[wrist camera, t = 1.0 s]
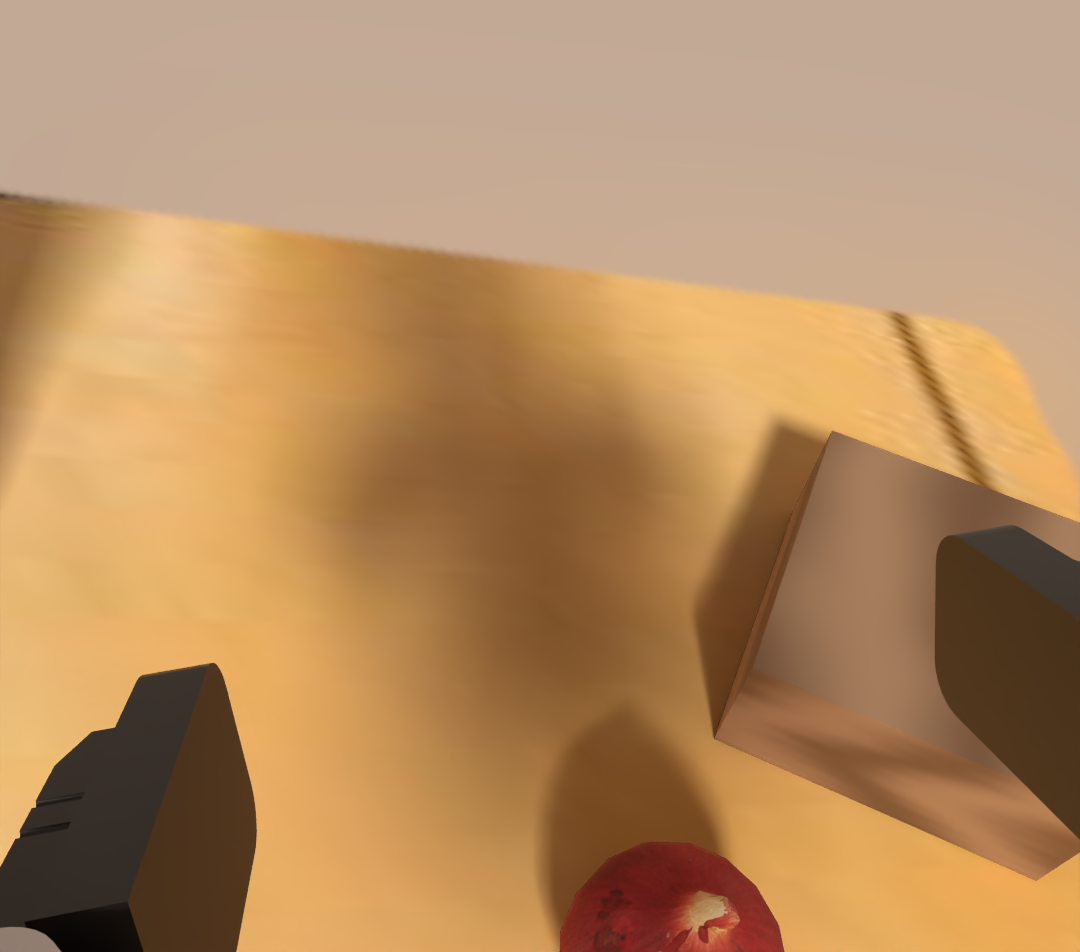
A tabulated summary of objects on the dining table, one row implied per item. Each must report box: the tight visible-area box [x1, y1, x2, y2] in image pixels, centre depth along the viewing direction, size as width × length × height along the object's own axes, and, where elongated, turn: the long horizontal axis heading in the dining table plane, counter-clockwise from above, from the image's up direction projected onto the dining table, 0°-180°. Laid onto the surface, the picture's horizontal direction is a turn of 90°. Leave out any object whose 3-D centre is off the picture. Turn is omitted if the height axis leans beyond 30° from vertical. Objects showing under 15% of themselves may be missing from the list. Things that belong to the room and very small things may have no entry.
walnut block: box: [714, 431, 1080, 881], centre depth 34 cm, size 11×11×5 cm
